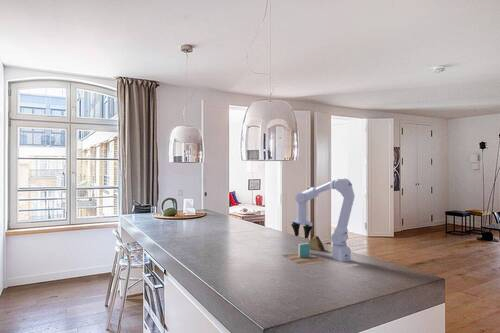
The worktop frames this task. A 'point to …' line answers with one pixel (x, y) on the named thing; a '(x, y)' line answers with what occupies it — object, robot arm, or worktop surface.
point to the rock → (316, 244)
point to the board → (304, 259)
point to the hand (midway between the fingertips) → (301, 237)
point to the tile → (304, 250)
